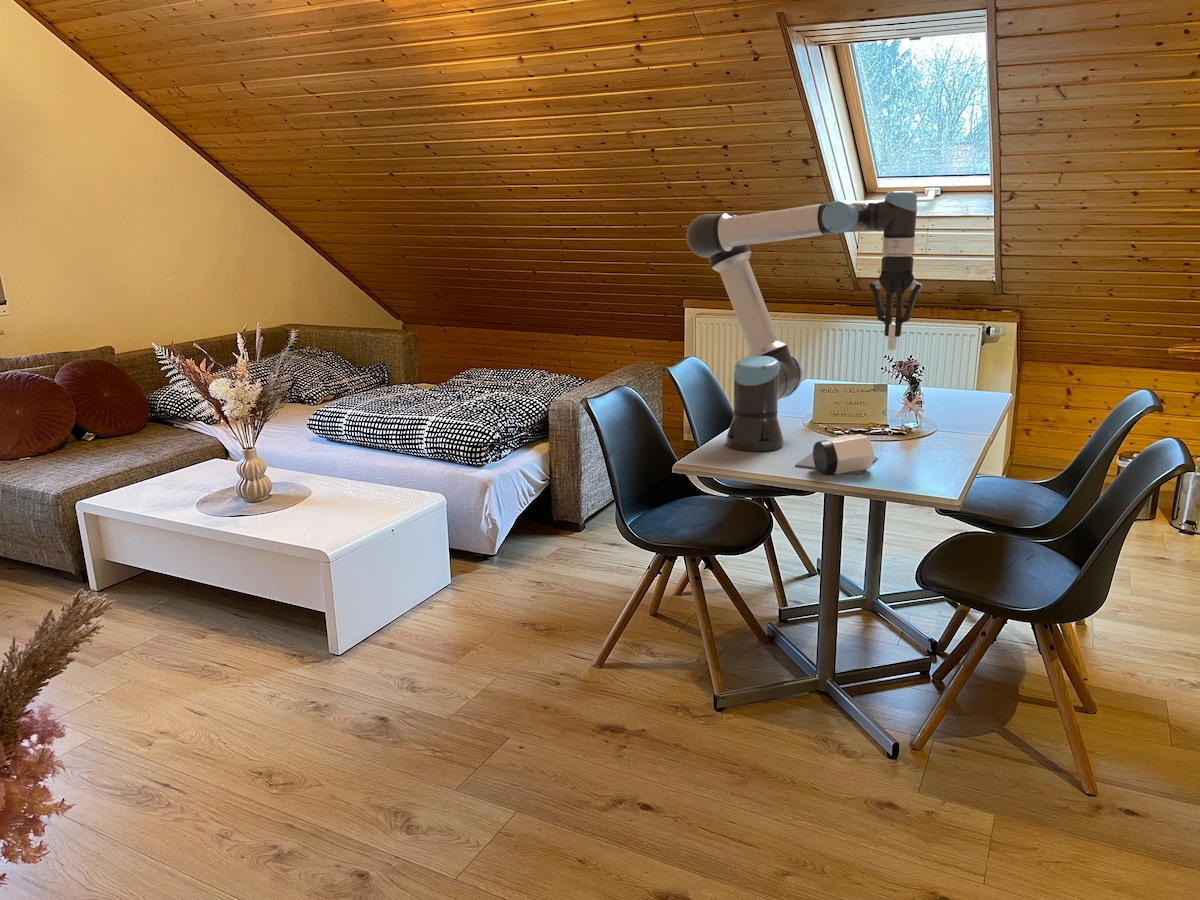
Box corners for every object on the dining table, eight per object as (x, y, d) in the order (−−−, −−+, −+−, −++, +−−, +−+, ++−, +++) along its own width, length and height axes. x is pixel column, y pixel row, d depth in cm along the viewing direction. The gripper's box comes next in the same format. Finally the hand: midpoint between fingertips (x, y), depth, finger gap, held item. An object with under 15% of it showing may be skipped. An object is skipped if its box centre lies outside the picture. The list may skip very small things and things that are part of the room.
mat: (795, 466, 222) (795, 464, 222) (815, 452, 235) (815, 450, 235) (860, 474, 214) (860, 472, 213) (877, 459, 227) (877, 457, 227)
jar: (862, 426, 217) (815, 433, 215) (877, 447, 211) (830, 455, 209) (855, 453, 223) (810, 461, 221) (869, 475, 217) (823, 483, 215)
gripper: (867, 255, 225) (862, 349, 231) (921, 256, 219) (914, 352, 224) (875, 254, 231) (870, 346, 237) (928, 254, 225) (921, 348, 231)
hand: (891, 349), depth 231 cm, fingers closed
